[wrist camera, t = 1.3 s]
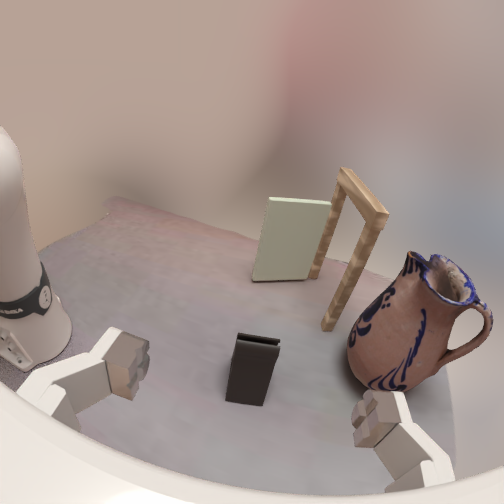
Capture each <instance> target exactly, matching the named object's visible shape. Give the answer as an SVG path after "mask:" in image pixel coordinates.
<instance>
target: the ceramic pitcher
mask: <svg viewBox="0 0 504 504" xmlns="http://www.w3.org/2000/svg"><path fill="white" fill-rule="evenodd" d="M469 308H473V309H476V310H477V311H479V312H480V313H481V314H482V315H483V317H484V326H483V329H482V330H481V332H480V333H479V334H478V335H477V336H476V337H474V338H473V339H472V340H471V341H470V342H468V343H466V344H465V345H463V346H460V347H459V348H457V349H454V350H449V349H447V344H448V340H449V336H450V333H451V330H452V326H453V324H454V321H455V319H456V318H457V317H458V316H459V315H460V314H461V313H462V312H464V311H465V310H467V309H469ZM492 325H493V316H492V312H491V310H490V308H489V307H488V306H487V305H486V304H485V303H484V302H483V301H480V299H479V298H478V296H477V294H476V289H475V288H474V285H473V283H472V281H471V279H470V278H469V277H468V275H467V274H466V273H464V271H463V270H462V269H461V268H459V267H458V266H457V265H456V264H455V263H454V262H452V261H451V260H450V259H447V258H446V257H445V256H442V255H437V254H434V255H431V257H430V260H429V261H426V260H425V259H424V258H423V257H422V256H421V255H420V254H418V253H416V252H412V251H409V252H408V253H407V258H406V261H405V264H404V267H403V269H402V270H401V272H400V273H399V275H398V276H397V278H396V279H395V280H394V282H393V283H392V284H391V285H390V286H389V287H388V288H387V289H386V290H385V291H384V292H383V293H381V294H380V295H379V296H378V297H377V298H376V299H375V300H374V301H373V302H372V303H371V304H370V305H369V306H368V307H367V308H366V309H365V310H364V312H363V313H362V314H361V315H360V317H359V318H358V319H357V321H356V322H355V324H354V326H353V328H352V330H351V332H350V334H349V337H348V343H347V354H348V361H349V364H350V367H351V370H352V372H353V373H354V375H355V377H356V378H358V379H359V381H361V382H362V383H363V384H364V386H366V387H368V388H369V389H371V390H383V391H397V392H405V391H407V390H409V389H412V388H413V387H415V386H417V385H418V384H420V383H421V382H422V381H423V380H425V379H426V378H428V377H430V376H432V375H435V374H436V373H437V372H438V371H439V369H440V368H441V367H442V366H444V365H445V364H447V363H449V362H451V361H453V360H455V359H458V358H460V357H462V356H464V355H466V354H468V353H469V352H471V351H472V350H473V349H475V348H477V347H479V346H480V345H481V344H482V343H483V342H484V341H485V340H486V338H487V337H488V336H489V333H490V331H491V329H492Z"/></svg>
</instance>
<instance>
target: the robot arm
mask: <svg viewBox="0 0 504 504" xmlns="http://www.w3.org/2000/svg"><path fill="white" fill-rule="evenodd" d="M46 273H47V272H46V270H45V268H44V266H43V264H42V262H41V261H40V260H39V257H38V254H37V250H36V247H35V244H34V240H33V236H32V233H31V229H30V224H29V218H28V209H27V201H26V193H25V185H24V177H23V169H22V161H21V156H20V153H19V151H18V149H17V147H16V145H15V144H14V142H13V141H12V139H11V138H10V137H9V135H8V134H7V132H6V131H5V130H4V128H2V127H1V126H0V356H1V357H3V358H4V359H5V360H7V361H8V362H10V363H11V364H12V365H14V366H15V367H17V368H18V369H20V370H21V371H23V372H27V371H29V370H30V369H32V368H33V367H34V366H36V365H37V364H39V363H42V362H46V361H48V360H51V359H53V358H54V357H56V356H57V355H58V354H59V353H61V352H62V350H63V349H64V348H65V347H66V345H67V344H68V342H69V339H70V336H71V332H72V325H71V320H70V318H69V316H68V315H67V313H66V312H65V311H64V309H63V308H62V304H61V301H60V299H59V297H58V296H56V295H55V293H54V291H53V289H52V287H51V285H50V282H49V279H48V276H47V274H46ZM148 350H149V341H148V340H145V339H143V338H140V337H137V336H135V335H132V334H130V333H127V332H125V331H122V330H119V329H117V328H114V327H110V328H108V330H107V331H106V332H105V333H104V335H103V336H102V337H101V338H100V340H99V341H98V342H97V343H96V345H95V346H94V347H93V348H92V350H91V351H90V352H89V353H86V352H84V353H82V354H79V355H76V356H73V357H70V358H68V359H65V360H62V361H59V362H56V363H53V364H50V365H48V366H45V367H42V368H39V369H36V370H34V371H33V372H32V373H31V374H30V376H29V377H28V378H27V379H26V380H25V382H24V383H23V384H22V385H21V386H20V388H19V389H18V390H17V391H16V393H15V392H14V391H13V390H11V389H10V388H9V387H7V386H6V385H5V384H3V383H2V382H1V381H0V504H504V465H503V466H500V467H498V468H495V469H492V470H489V471H487V472H483V473H480V474H477V475H474V476H470V477H467V478H463V479H460V480H455V477H454V473H453V469H452V465H451V462H450V458H449V456H448V455H447V454H446V453H445V452H444V451H443V450H442V449H441V448H440V447H439V446H438V445H437V444H436V443H435V442H434V441H433V440H432V439H431V438H430V437H429V436H428V435H427V434H426V433H425V432H424V431H423V430H422V429H421V428H420V427H419V426H418V425H417V424H416V423H413V422H412V419H411V415H410V412H409V409H408V405H407V402H406V399H405V396H404V394H403V393H402V392H397V391H383V390H371V389H369V390H367V391H366V392H365V393H364V394H363V400H361V401H359V402H357V404H356V405H355V407H354V409H353V412H352V418H351V420H352V425H353V426H354V427H355V428H356V430H355V432H354V433H353V436H354V444H355V447H361V448H374V451H375V452H376V454H377V455H378V457H379V458H380V460H381V461H382V462H383V464H384V465H385V467H386V468H387V470H388V471H389V473H390V474H391V476H392V477H393V478H394V480H395V481H394V482H393V483H392V484H390V485H389V486H387V487H386V488H385V493H379V494H366V495H302V494H288V493H278V492H269V491H261V490H254V489H248V488H242V487H236V486H231V485H226V484H221V483H217V482H212V481H208V480H204V479H200V478H196V477H192V476H188V475H185V474H181V473H178V472H175V471H171V470H168V469H165V468H162V467H159V466H156V465H153V464H150V463H148V462H145V461H142V460H140V459H137V458H134V457H132V456H129V455H127V454H124V453H122V452H120V451H117V450H115V449H113V448H110V447H108V446H106V445H104V444H102V443H100V442H97V441H95V440H93V439H91V438H89V437H87V436H85V435H83V434H81V433H80V431H81V426H80V424H79V421H78V419H77V417H76V415H75V414H77V413H79V412H81V411H83V410H84V409H86V408H88V407H90V406H91V405H93V404H95V403H97V402H99V401H100V400H102V399H104V398H106V397H107V396H109V395H111V393H113V394H115V395H118V396H120V397H123V398H126V399H128V400H131V401H132V400H133V398H134V397H135V395H136V393H137V391H138V389H139V381H141V380H143V379H144V378H145V376H146V374H147V370H148V367H149V361H150V357H149V355H148V354H147V351H148ZM20 362H21V363H20Z"/></svg>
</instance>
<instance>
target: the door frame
mask: <svg viewBox="0 0 504 504" xmlns="http://www.w3.org/2000/svg"><path fill="white" fill-rule="evenodd" d="M337 181H338V182H337V185H336V189H335V191H334V195H333V198H332V201H331V204H332V207H331V210H330V213H329V216H328V219H327V222H326V225H325V228H324V231H323V234H322V237H321V240H320V243H319V246H318V249H317V252H316V255H315V257H314V260H313V263H312V266H311V269H310V271H309V274H308V277H309V278H313V279H317V276H318V274H319V271H320V268H321V266H322V263H323V261H324V258H325V255H326V252H327V250H328V247H329V244H330V241H331V239H332V236H333V233H334V230H335V228H336V225H337V222H338V219H339V216H340V213H341V210H342V207H343V204H344V201H345V198H346V195H348V196H349V198H350V199H351V200H352V202H353V203H354V205H355V206H356V208H357V209H358V211H359V212H360V214H361V215H362V217H363V218H364V220H365V221H366V223H365V226H364V228H363V231H362V233H361V236H360V238H359V241H358V243H357V245H356V248H355V250H354V253H353V255H352V258H351V260H350V262H349V264H348V267H347V269H346V271H345V273H344V276H343V278H342V280H341V282H340V284H339V287H338V289H337V291H336V293H335V295H334V297H333V300H332V302H331V304H330V306H329V308H328V310H327V312H326V314H325V316H324V318H323V320H322V322H321V326H322V330H323V331H332V329H333V328H334V326H335V324H336V322H337V320H338V318H339V316H340V315H341V313H342V311H343V309H344V307H345V305H346V303H347V301H348V299H349V297H350V295H351V293H352V291H353V289H354V287H355V285H356V283H357V281H358V279H359V277H360V275H361V273H362V271H363V269H364V267H365V264H366V262H367V260H368V258H369V256H370V253H371V251H372V249H373V247H374V245H375V242H376V240H377V238H378V235H379V233H380V231H381V230H383V228H384V226H385V224H386V221H387V219H388V217H389V213H388V212H387V210H386V209H385V208H384V207H383V206H382V204H381V203H380V202H379V201H378V200H377V198H376V197H375V196H374V195H373V194H372V192H371V191H370V190H369V189H368V188H367V187H366V186H365V184H364V183H363V182H362V181H361V180H360V179H359V178H358V176H357V175H356V174H355V173H354V172H353V171H352V170H351V169H347V168H343V167H340V170H339V174H338V177H337Z"/></svg>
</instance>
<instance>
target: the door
mask: <svg viewBox="0 0 504 504" xmlns="http://www.w3.org/2000/svg"><path fill="white" fill-rule="evenodd" d="M331 207H332V204H331V203H330V202H328V201H317V200H305V199H291V198H277V197H268V202H267V207H266V211H265V217H264V221H263V226H262V230H261V236H260V240H259V245H258V249H257V254H256V259H255V264H254V268H253V273H252V279H253V281H266V280H297V279H307V277H308V274H309V271H310V269H311V266H312V263H313V260H314V257H315V255H316V252H317V249H318V246H319V243H320V240H321V237H322V234H323V231H324V228H325V225H326V222H327V219H328V216H329V213H330V210H331Z"/></svg>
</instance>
